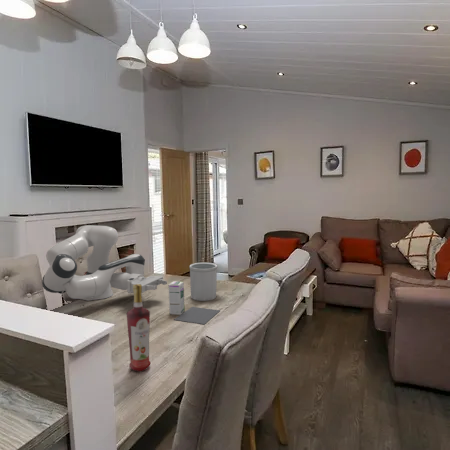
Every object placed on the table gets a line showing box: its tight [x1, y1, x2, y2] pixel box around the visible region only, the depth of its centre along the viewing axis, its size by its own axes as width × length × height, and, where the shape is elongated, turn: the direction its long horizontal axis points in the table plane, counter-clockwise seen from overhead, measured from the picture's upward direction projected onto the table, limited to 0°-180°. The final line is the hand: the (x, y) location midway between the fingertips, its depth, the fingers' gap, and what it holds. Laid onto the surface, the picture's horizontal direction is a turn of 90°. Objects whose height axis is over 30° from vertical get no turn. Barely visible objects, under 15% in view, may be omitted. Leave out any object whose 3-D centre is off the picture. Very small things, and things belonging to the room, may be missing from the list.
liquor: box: [126, 284, 152, 372], centre depth 114 cm, size 7×7×28 cm
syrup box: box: [168, 280, 186, 316], centre depth 167 cm, size 6×6×14 cm
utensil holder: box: [189, 262, 218, 302], centre depth 190 cm, size 15×15×18 cm
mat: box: [173, 306, 221, 326], centre depth 163 cm, size 15×18×1 cm
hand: (161, 285), depth 174 cm, fingers open, 8 cm apart
